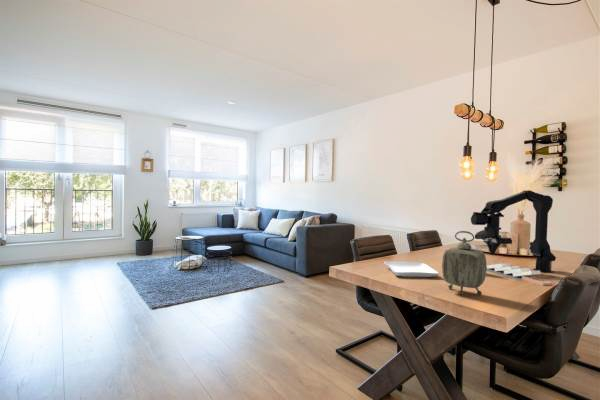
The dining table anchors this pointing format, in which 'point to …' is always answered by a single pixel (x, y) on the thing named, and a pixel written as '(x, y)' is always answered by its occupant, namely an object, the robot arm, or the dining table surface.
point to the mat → (505, 274)
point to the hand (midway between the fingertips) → (492, 254)
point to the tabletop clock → (464, 265)
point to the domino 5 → (536, 280)
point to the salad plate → (411, 269)
